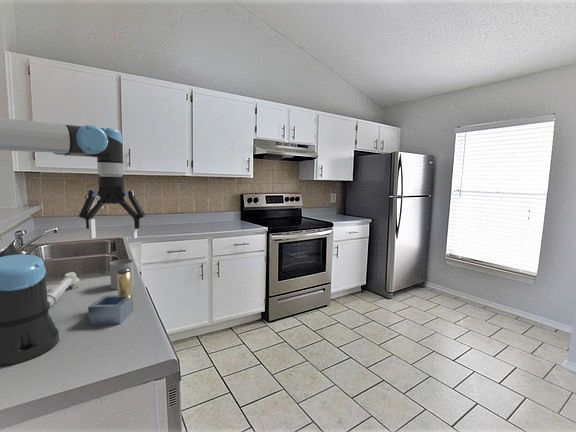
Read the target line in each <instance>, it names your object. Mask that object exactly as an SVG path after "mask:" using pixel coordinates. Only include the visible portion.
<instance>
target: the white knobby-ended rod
mask: <svg viewBox="0 0 576 432" xmlns="http://www.w3.org/2000/svg"><path fill="white" fill-rule="evenodd" d="M79 287H80V278H79V277H77V274H76V273H75V272H74V271H70V272H67V273H65V274H64V278H63V279H62V280H61V281H60V282H59V283H58V284H57V285H55V287H53V288H52V289H50V291H49V292H47V301H48V310H49V309H51V307H53V306H54V305H56V303H57V300H58V299H59V298H60V297H61V296H62V295H63V293H64V292H65V291H72V290H75V289H76V288H79Z"/></svg>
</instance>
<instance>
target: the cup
mask: <svg viewBox="0 0 576 432" xmlns="http://www.w3.org/2000/svg"><path fill="white" fill-rule="evenodd" d="M124 267H129V268H130V274H131V288H132V287H133V286H134V285H135V276H134V274H135V273H134V261H133V259H129V258H127V259H116V260H113V261H110V262H109V275H110V289H112V290H117V291H118V281H117V269H119V268H124Z"/></svg>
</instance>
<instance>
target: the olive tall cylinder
mask: <svg viewBox="0 0 576 432" xmlns="http://www.w3.org/2000/svg"><path fill="white" fill-rule="evenodd" d="M117 281H118V290H117V292H118V294H117V295H133V294H132V287H131V274H130V268H129V267H124V268H119V269H117Z"/></svg>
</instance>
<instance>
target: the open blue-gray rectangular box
mask: <svg viewBox="0 0 576 432" xmlns="http://www.w3.org/2000/svg"><path fill="white" fill-rule="evenodd" d="M133 297H134V296H133V294H132V295H118V294H117V295H115V294H113V295H107V294H106V295H103V296H101V297H100V298H99V299H97V300H96V301H95V302H93V303H91V304H90V305H89V306H88V307H87V309H88V310H87V311H88V323H89V326H90V325H91V326H92V325H121V324H122V323H123V322H124V321H125V320H126V319H127V318H128V317H129V316H130V315H131V314H133V312H134V298H133Z"/></svg>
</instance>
